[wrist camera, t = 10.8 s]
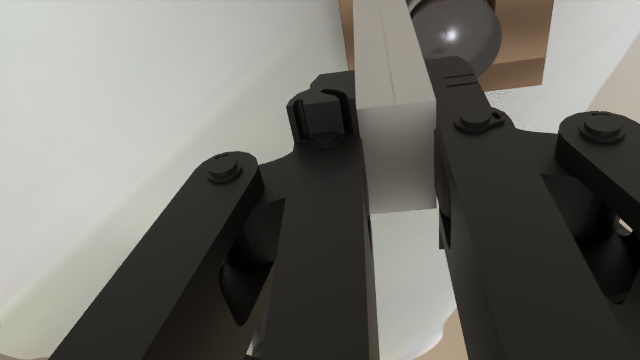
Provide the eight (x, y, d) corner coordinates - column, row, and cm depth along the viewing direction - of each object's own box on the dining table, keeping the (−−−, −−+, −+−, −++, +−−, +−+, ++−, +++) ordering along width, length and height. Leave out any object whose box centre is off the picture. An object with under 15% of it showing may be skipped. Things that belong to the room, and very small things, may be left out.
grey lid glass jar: (469, 25, 38) (498, 82, 31) (396, 35, 39) (407, 92, 32) (471, -53, 35) (505, -10, 27) (391, -40, 36) (402, 5, 28)
